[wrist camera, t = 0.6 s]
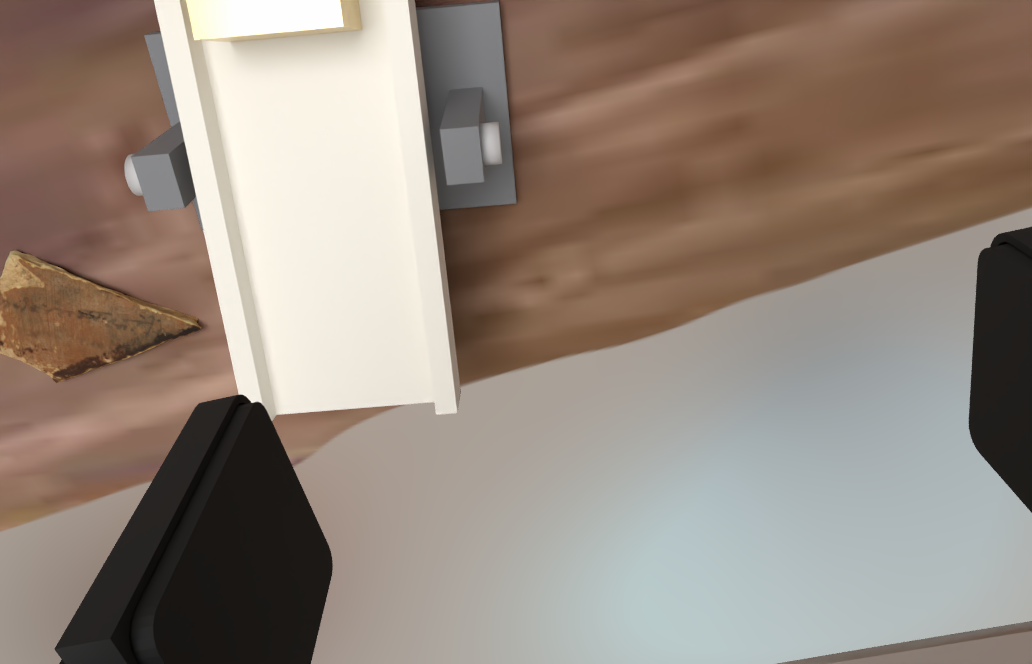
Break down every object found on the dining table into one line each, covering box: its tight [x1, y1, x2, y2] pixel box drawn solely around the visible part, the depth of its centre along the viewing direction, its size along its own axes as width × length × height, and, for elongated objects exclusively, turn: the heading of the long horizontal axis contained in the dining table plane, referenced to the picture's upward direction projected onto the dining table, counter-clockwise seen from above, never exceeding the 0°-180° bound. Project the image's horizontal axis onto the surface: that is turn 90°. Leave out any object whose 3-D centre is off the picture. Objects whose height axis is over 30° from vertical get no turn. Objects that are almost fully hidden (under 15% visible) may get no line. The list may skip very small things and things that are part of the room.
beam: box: [154, 0, 461, 421], centre depth 37 cm, size 24×10×6 cm, turn 4°
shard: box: [0, 250, 202, 383], centre depth 47 cm, size 11×8×2 cm
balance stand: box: [125, 0, 516, 230], centre depth 37 cm, size 10×17×8 cm, turn 95°
